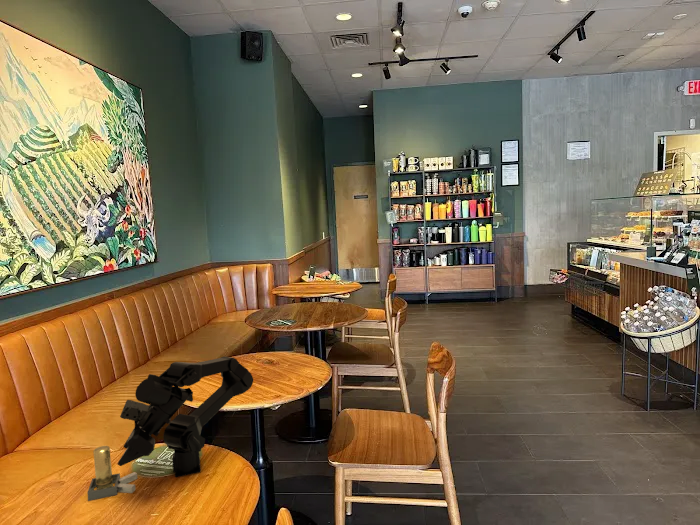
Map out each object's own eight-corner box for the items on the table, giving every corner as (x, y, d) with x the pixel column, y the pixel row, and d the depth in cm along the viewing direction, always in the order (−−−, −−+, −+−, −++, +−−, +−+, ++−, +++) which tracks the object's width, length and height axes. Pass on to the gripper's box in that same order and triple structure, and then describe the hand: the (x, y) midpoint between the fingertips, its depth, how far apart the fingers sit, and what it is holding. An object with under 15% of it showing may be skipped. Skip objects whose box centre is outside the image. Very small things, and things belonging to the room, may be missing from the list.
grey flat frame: (137, 476, 122) (137, 468, 122) (135, 492, 115) (134, 484, 114) (93, 485, 118) (92, 477, 118) (87, 502, 111) (86, 494, 111)
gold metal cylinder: (114, 485, 118) (111, 444, 117) (111, 493, 114) (107, 451, 113) (99, 487, 117) (95, 447, 116) (95, 496, 113) (91, 454, 112)
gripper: (144, 378, 126) (103, 423, 123) (134, 403, 108) (86, 456, 106) (176, 401, 129) (136, 445, 127) (172, 429, 111) (126, 481, 109)
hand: (122, 455), depth 117 cm, fingers open, 9 cm apart
